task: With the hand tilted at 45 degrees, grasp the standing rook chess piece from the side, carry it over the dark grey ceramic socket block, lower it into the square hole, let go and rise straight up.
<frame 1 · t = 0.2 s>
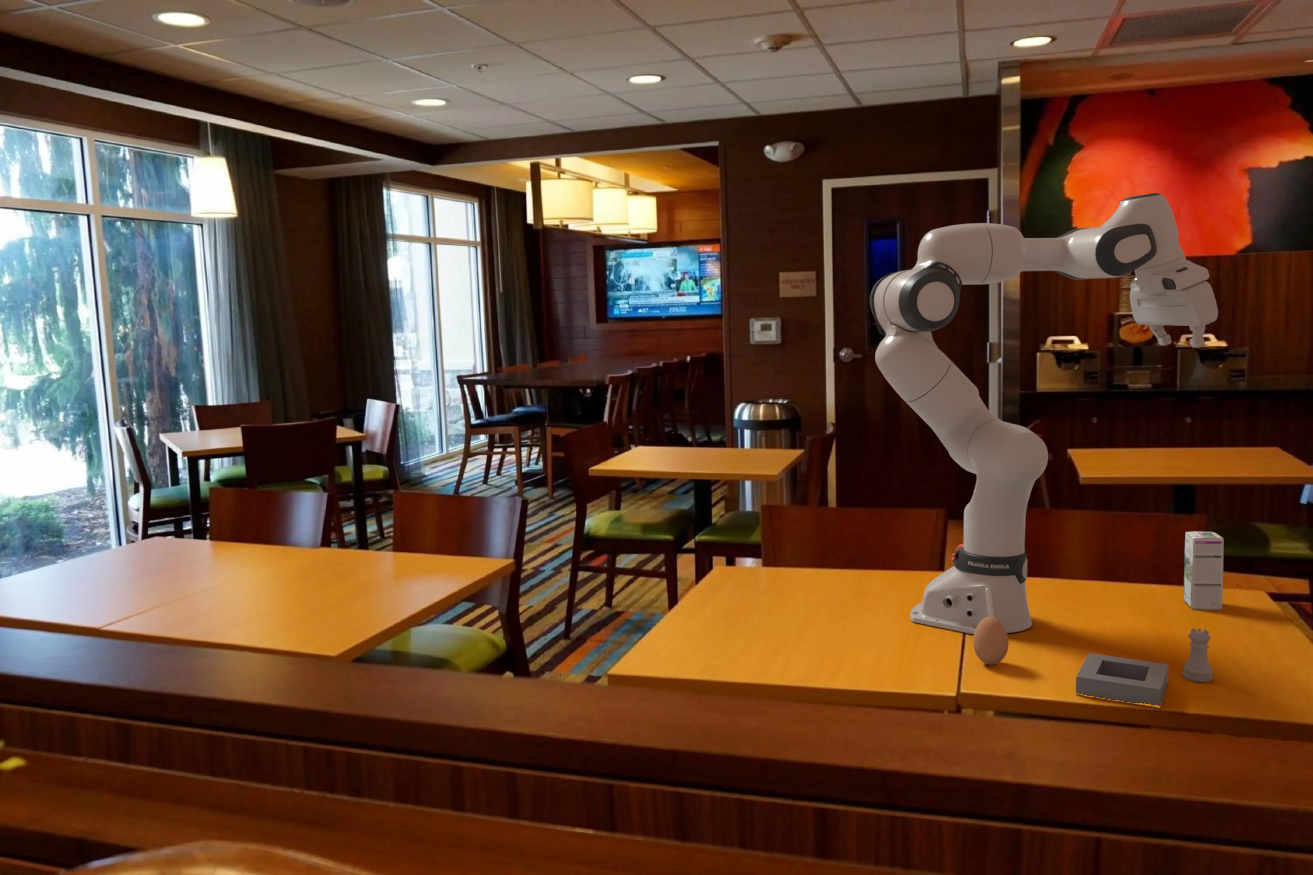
hand: (1181, 345, 198), 52 cm above the table, tool tilted 20°, fingers open, 8 cm apart
syrup box: (1202, 606, 206), on the table
rook chess piece: (1197, 679, 168), on the table
egg: (990, 665, 177), on the table
socket block: (1122, 688, 165), on the table
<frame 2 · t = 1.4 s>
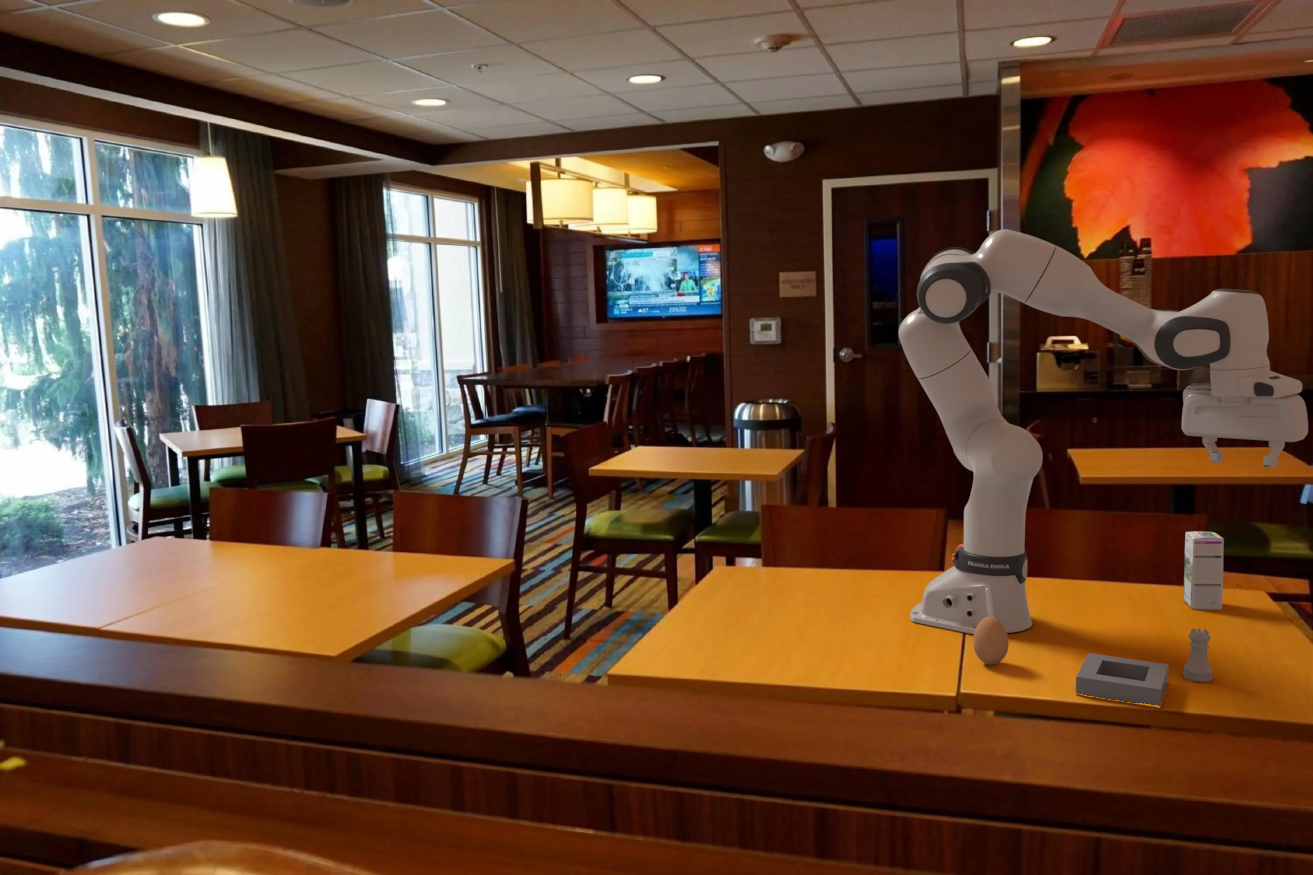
hand: (1243, 464, 177), 33 cm above the table, tool pointing down, fingers open, 8 cm apart
nothing on the table moved.
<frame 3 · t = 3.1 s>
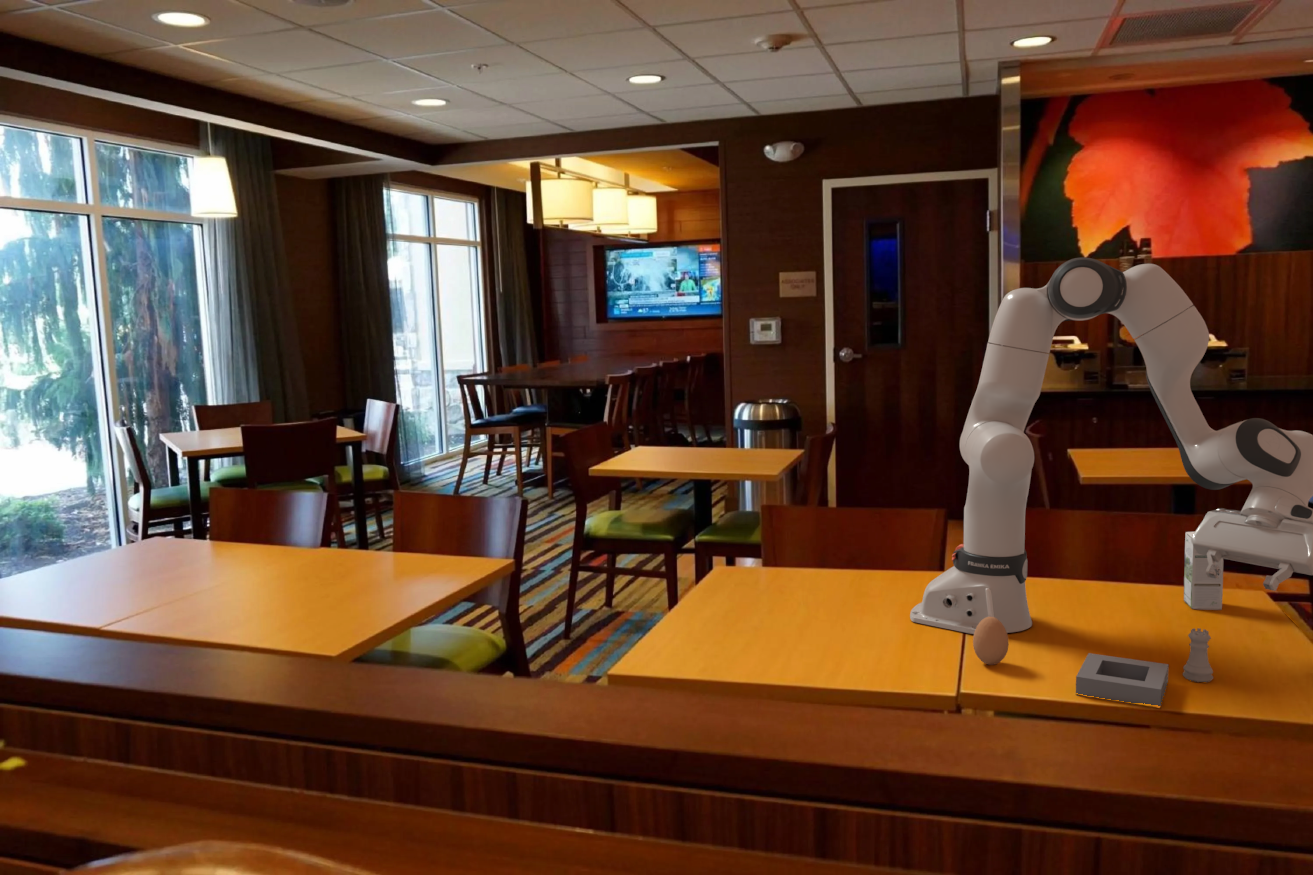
hand: (1239, 581, 173), 14 cm above the table, tool tilted 45°, fingers open, 8 cm apart
nothing on the table moved.
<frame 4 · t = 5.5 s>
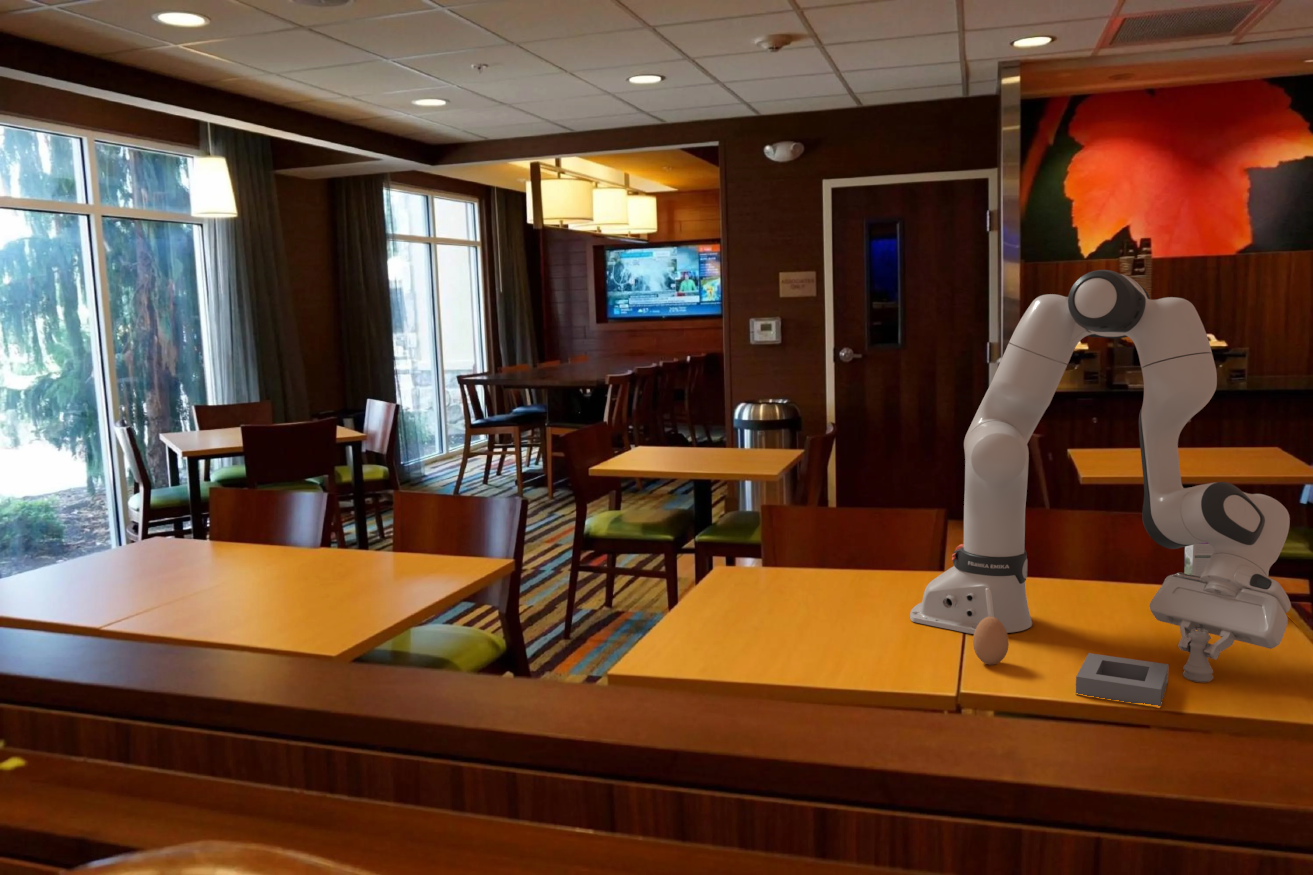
hand: (1196, 652, 167), 4 cm above the table, tool tilted 45°, fingers closed on rook chess piece, 3 cm apart
rook chess piece: (1197, 679, 168), on the table, touching gripper
everything else where it was.
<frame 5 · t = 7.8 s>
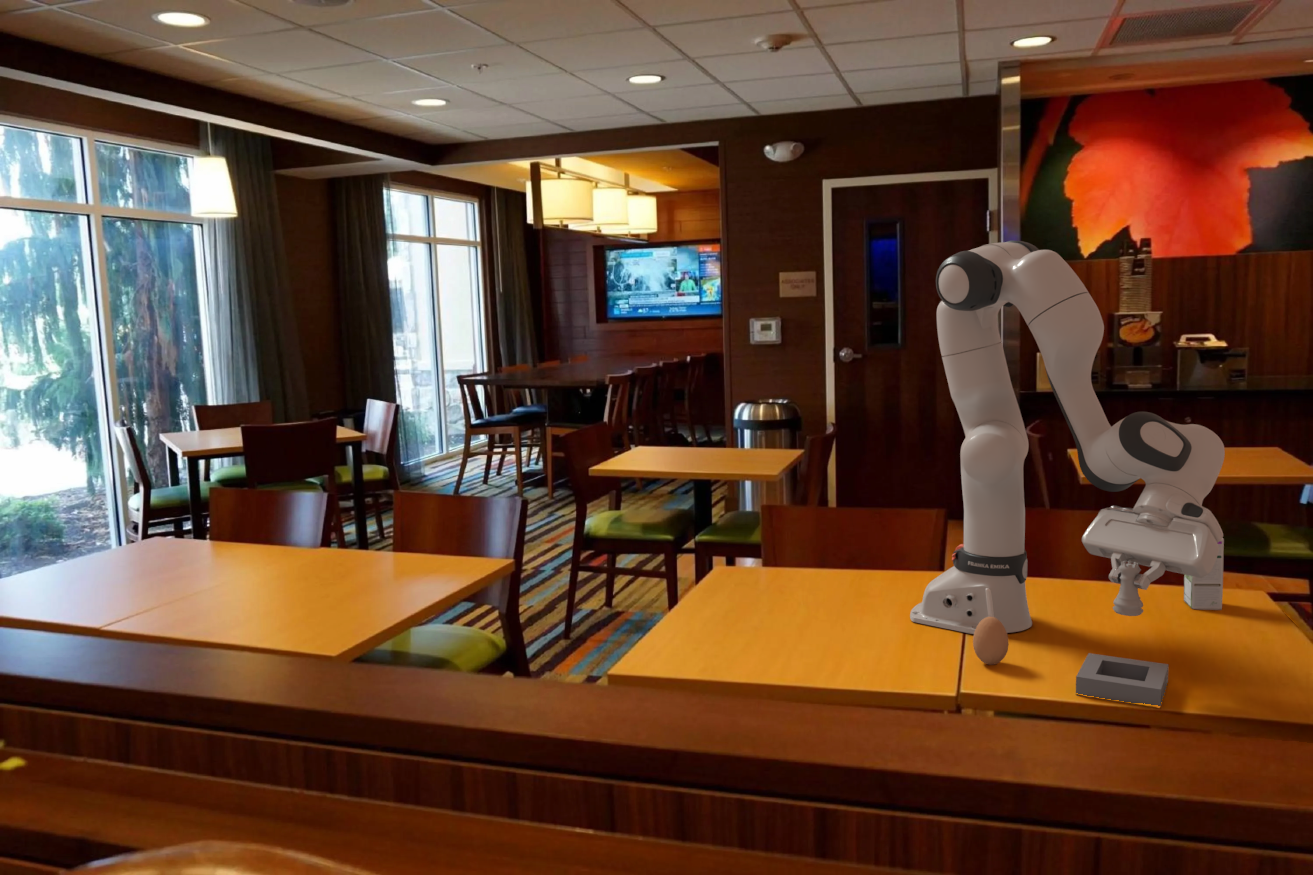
hand: (1126, 583, 162), 17 cm above the table, tool tilted 45°, fingers closed on rook chess piece, 3 cm apart
rook chess piece: (1127, 613, 163), point 12 cm above the table, touching gripper
everything else where it was.
when the fingers open (6 cm above the table, at t = 10.3 s): rook chess piece drops 1 cm, resting on socket block.
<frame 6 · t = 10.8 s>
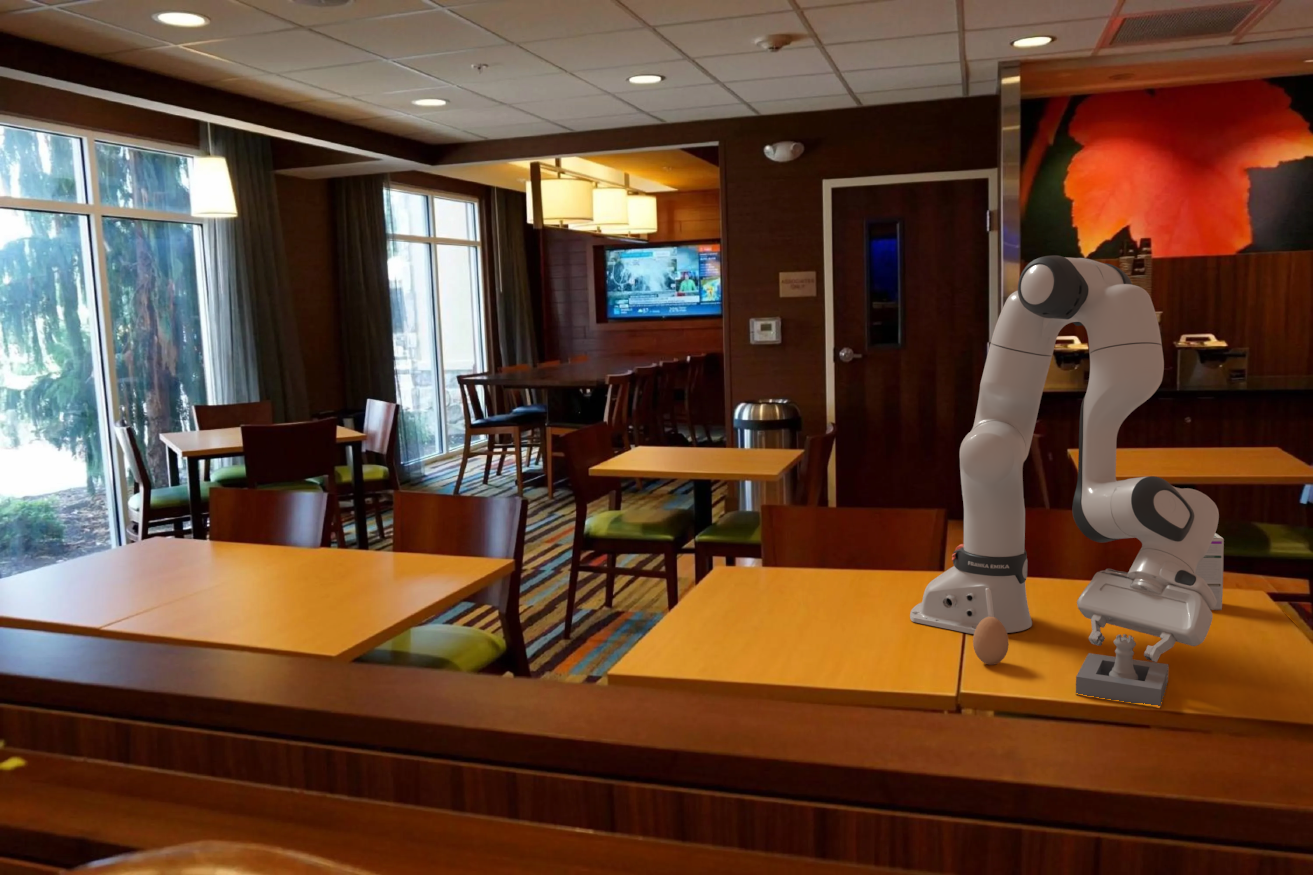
hand: (1121, 650, 164), 6 cm above the table, tool tilted 45°, fingers open, 8 cm apart
rook chess piece: (1123, 686, 165), resting on socket block
everything else where it was.
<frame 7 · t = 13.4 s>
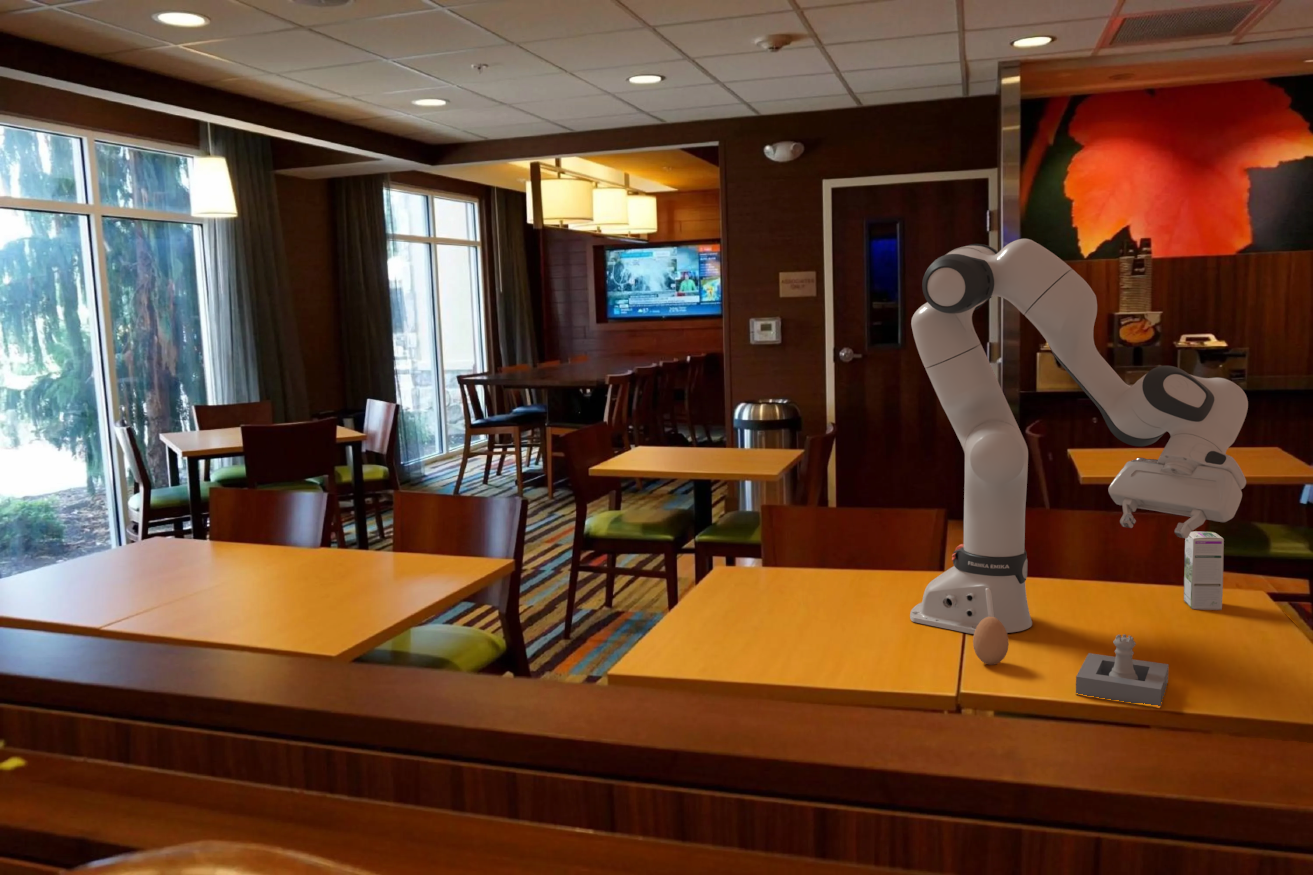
hand: (1152, 530, 168), 24 cm above the table, tool tilted 45°, fingers open, 8 cm apart
nothing on the table moved.
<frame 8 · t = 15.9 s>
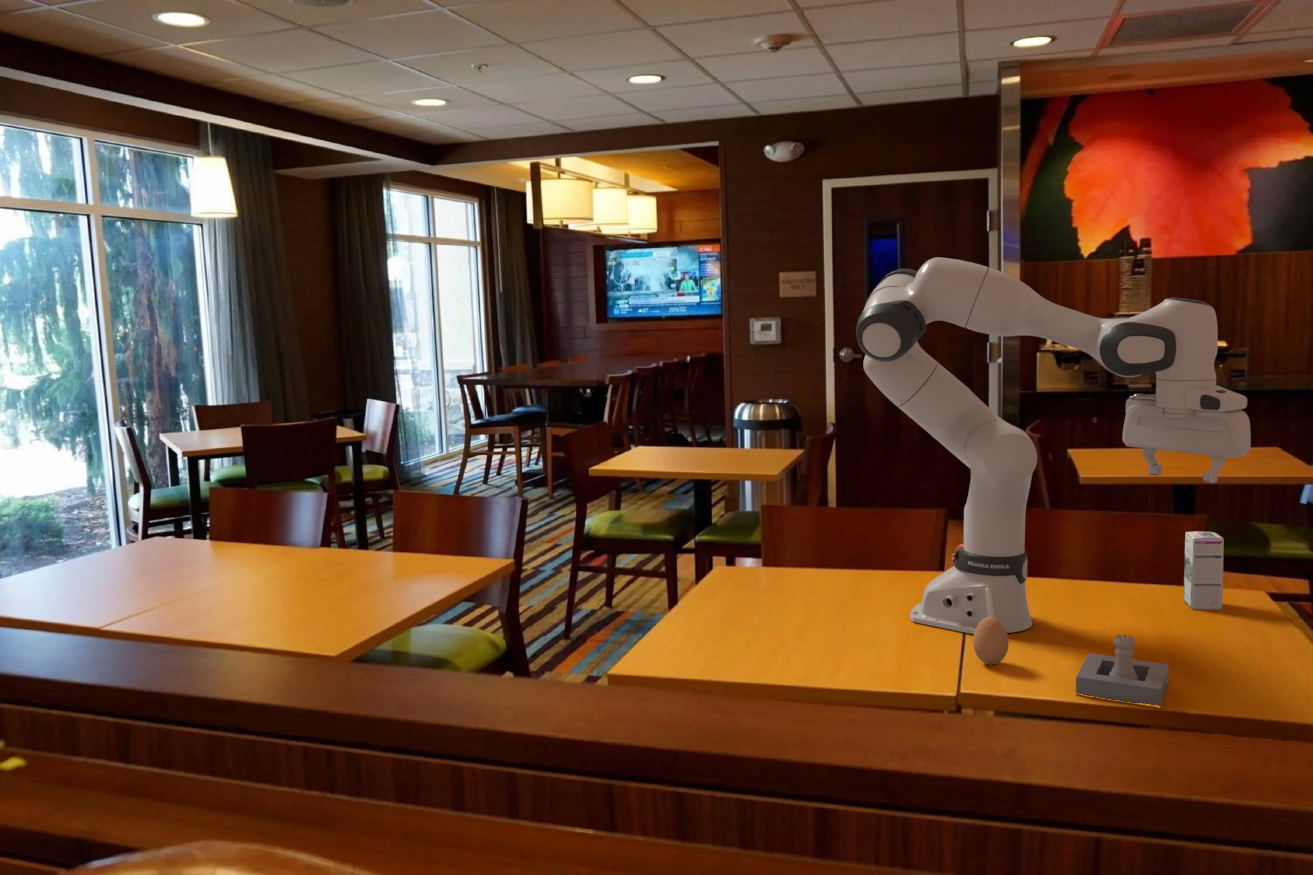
hand: (1182, 478, 174), 31 cm above the table, tool pointing down, fingers open, 8 cm apart
nothing on the table moved.
at the end: rook chess piece 0.1 cm off-centre on the socket block, point 0.3 cm above the socket block's base; rook chess piece tilted 0°; the gripper is holding nothing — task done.
